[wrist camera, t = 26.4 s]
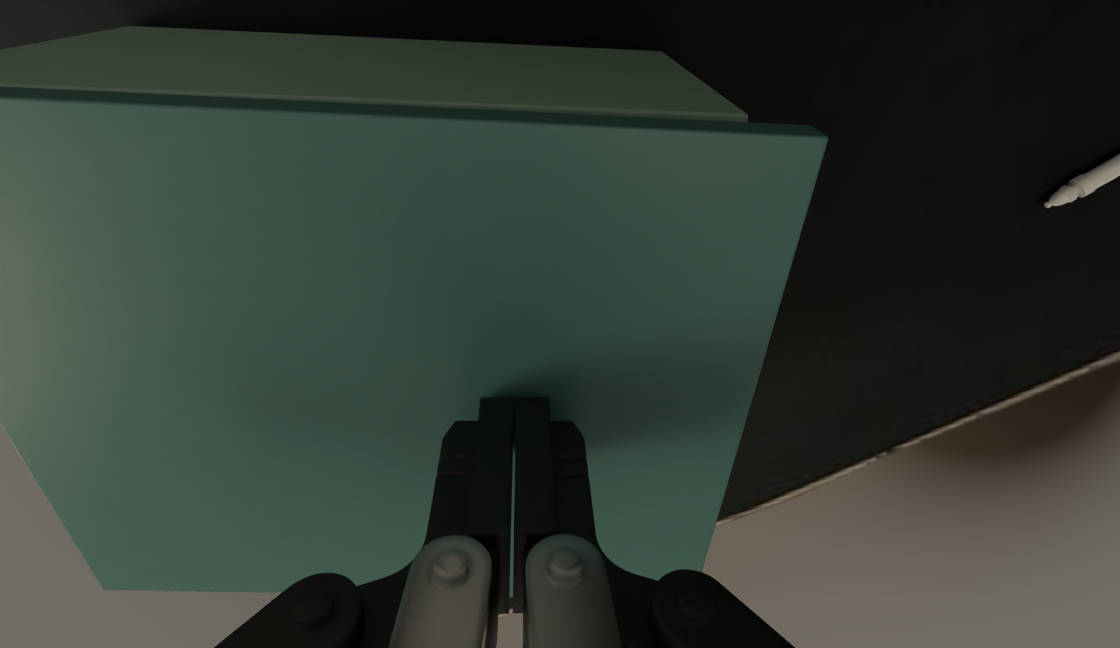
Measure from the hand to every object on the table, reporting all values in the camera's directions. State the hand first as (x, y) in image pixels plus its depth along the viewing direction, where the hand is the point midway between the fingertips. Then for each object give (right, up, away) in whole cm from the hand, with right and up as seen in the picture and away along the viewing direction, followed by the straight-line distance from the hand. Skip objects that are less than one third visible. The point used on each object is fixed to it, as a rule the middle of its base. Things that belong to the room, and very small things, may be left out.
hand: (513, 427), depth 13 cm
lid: (-3, +1, +1) cm, 3 cm away
